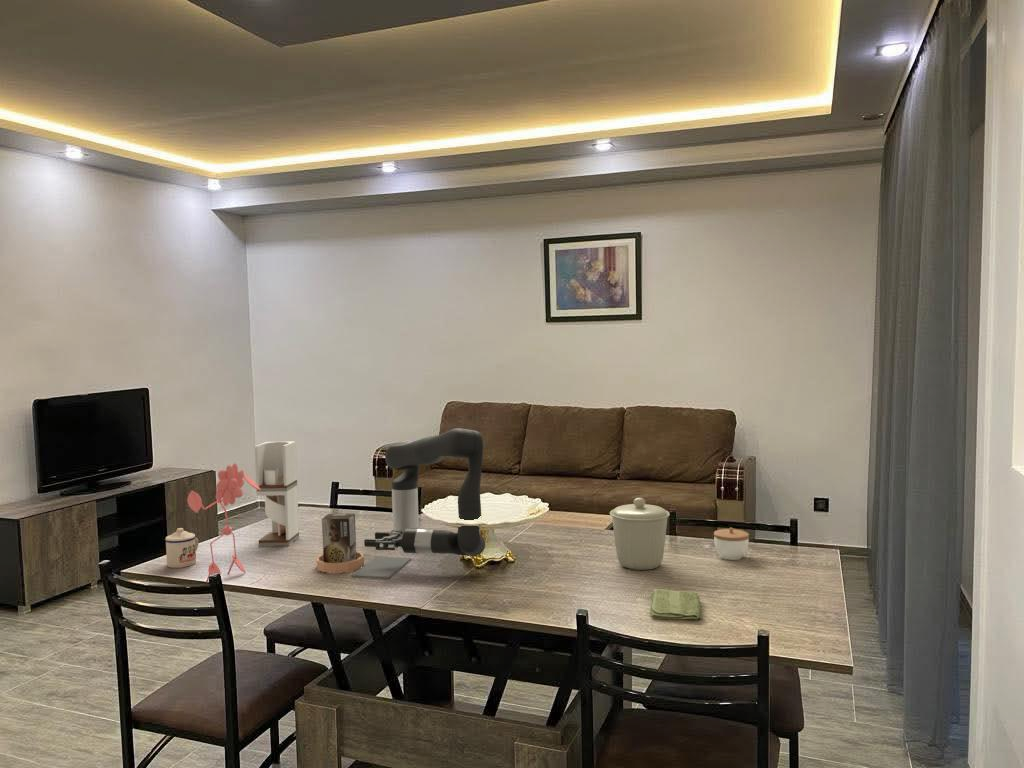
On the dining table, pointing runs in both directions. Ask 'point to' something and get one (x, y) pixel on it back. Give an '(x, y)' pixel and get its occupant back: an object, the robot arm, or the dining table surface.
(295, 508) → the display case
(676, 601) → the washcloth
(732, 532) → the lidded jar
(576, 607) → the dining table surface
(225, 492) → the pink flower stick figure
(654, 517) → the canister
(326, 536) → the printed cardboard box
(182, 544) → the teacup with lid
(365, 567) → the rubber mat
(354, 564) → the terracotta ring
